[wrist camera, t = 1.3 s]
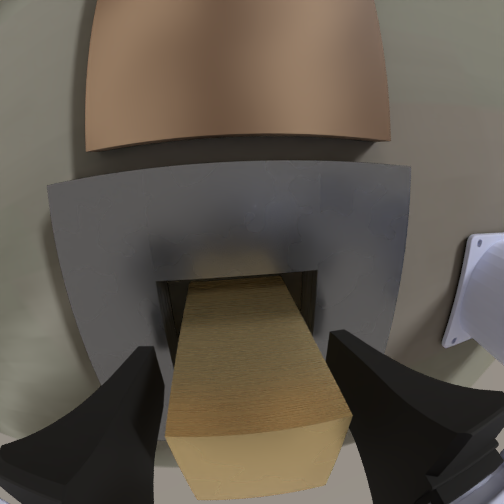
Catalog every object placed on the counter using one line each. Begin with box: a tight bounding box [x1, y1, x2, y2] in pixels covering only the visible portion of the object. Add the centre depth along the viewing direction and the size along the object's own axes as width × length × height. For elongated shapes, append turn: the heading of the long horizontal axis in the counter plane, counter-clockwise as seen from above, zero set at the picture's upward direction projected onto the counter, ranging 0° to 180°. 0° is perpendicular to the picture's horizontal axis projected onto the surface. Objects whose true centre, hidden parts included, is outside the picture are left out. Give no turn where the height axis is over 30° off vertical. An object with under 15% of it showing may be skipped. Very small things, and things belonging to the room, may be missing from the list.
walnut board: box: [85, 0, 391, 152], centre depth 8 cm, size 12×10×1 cm
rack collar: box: [47, 160, 411, 441], centre depth 12 cm, size 14×14×2 cm
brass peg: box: [165, 276, 353, 500], centre depth 9 cm, size 4×4×8 cm
